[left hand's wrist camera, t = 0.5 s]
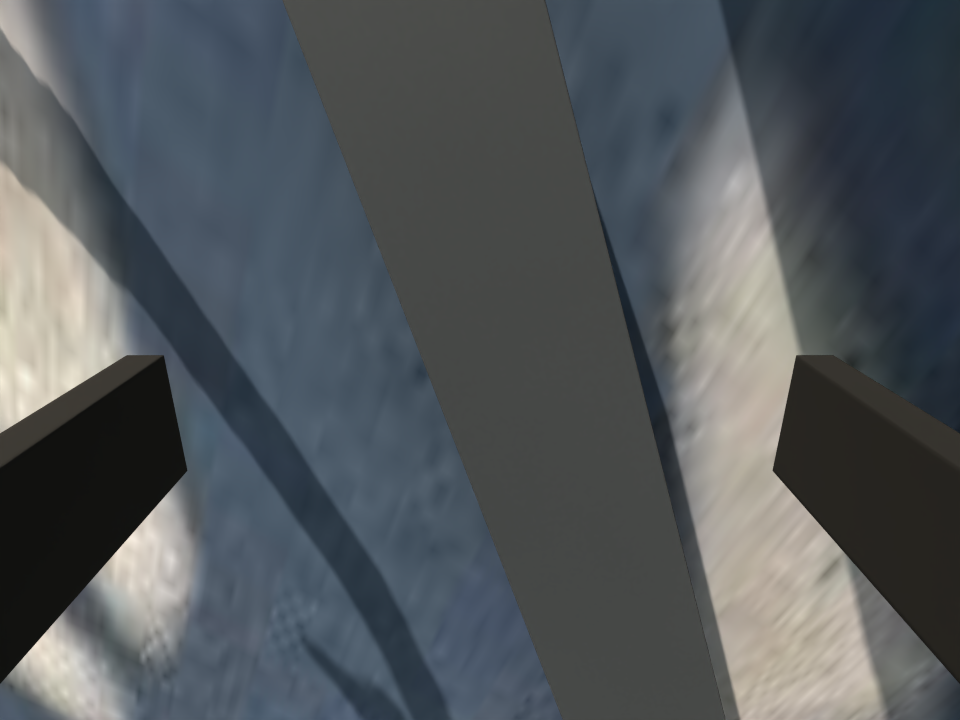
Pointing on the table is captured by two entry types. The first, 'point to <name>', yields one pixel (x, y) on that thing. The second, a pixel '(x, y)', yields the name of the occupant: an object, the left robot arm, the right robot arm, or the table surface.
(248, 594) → the table surface
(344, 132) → the thick board
